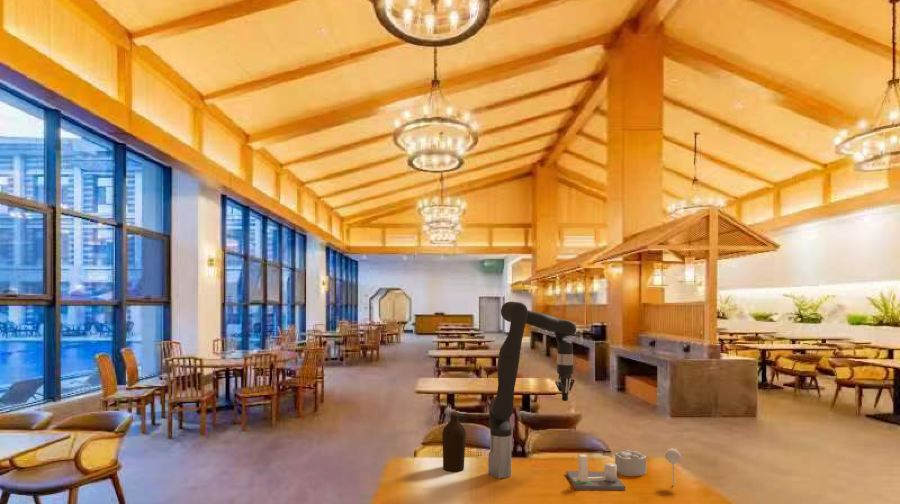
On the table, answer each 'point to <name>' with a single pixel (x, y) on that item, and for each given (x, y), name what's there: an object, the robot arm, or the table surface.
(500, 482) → the table surface
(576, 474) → the board
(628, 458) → the lumpy-topped squat cylinder
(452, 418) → the olive oil
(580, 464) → the beige u-shaped piece
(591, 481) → the green band
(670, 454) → the lollipop
